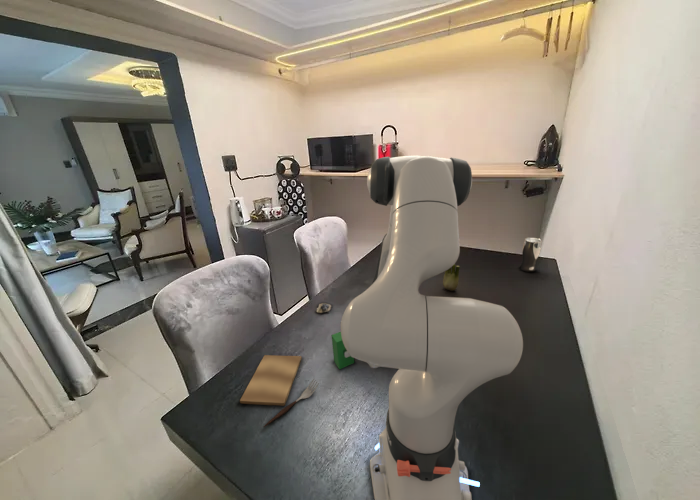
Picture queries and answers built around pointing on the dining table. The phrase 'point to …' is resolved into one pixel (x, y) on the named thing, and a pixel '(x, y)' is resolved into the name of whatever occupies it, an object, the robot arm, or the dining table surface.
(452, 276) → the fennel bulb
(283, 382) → the board
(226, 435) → the dining table surface
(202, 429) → the dining table surface
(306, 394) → the fork
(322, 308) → the tan grey flat shell
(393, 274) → the robot arm
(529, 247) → the beer glass
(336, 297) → the dining table surface
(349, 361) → the brick
